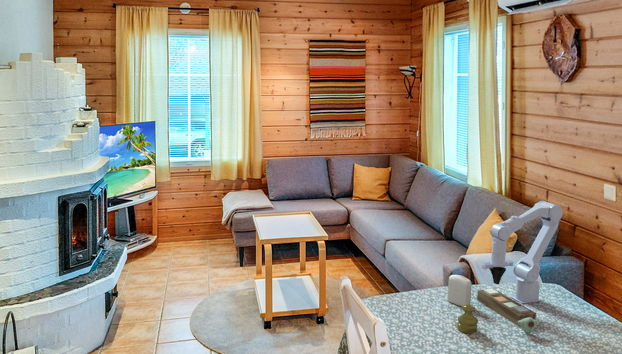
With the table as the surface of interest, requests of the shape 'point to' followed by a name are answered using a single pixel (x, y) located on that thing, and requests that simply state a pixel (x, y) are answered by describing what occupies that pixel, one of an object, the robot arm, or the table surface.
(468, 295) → the white rounded slab
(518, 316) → the keyboard
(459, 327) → the olive green vase
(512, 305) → the sage key
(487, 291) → the ivory key
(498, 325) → the table surface
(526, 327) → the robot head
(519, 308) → the slate key
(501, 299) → the terracotta key
